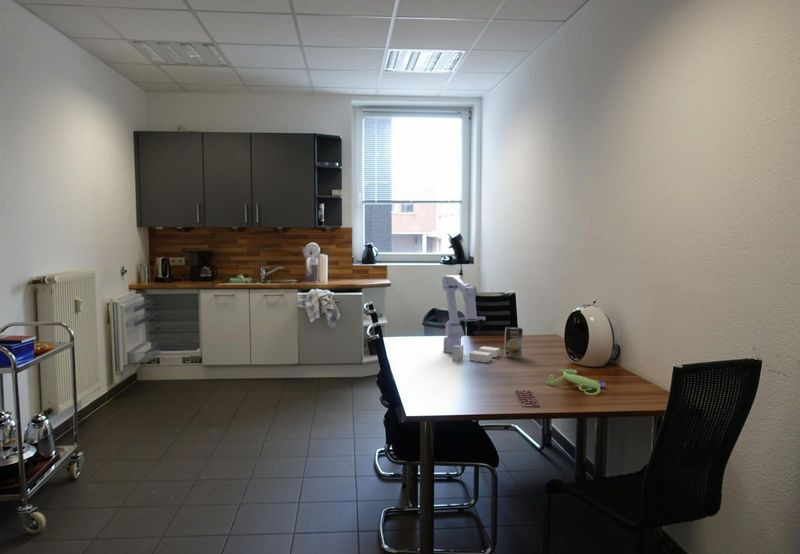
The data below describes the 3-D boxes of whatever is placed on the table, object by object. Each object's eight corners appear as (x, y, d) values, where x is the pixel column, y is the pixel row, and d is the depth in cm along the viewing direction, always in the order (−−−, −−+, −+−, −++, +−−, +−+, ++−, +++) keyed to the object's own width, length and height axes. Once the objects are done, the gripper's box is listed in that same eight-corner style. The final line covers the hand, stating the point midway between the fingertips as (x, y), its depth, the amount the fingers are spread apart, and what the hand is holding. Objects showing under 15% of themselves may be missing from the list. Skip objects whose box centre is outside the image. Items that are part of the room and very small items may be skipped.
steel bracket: (452, 361, 294) (452, 346, 293) (456, 359, 298) (456, 344, 298) (459, 362, 292) (459, 347, 291) (463, 360, 296) (463, 345, 296)
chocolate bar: (521, 408, 220) (521, 403, 220) (515, 393, 239) (515, 389, 238) (540, 408, 219) (540, 403, 219) (531, 394, 238) (532, 389, 238)
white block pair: (469, 360, 296) (469, 352, 296) (483, 353, 313) (483, 346, 313) (487, 362, 291) (487, 355, 291) (499, 355, 309) (500, 348, 308)
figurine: (563, 377, 266) (563, 365, 266) (615, 389, 246) (616, 377, 245) (540, 383, 254) (540, 371, 254) (593, 397, 234) (593, 384, 233)
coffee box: (504, 357, 303) (505, 328, 302) (503, 355, 310) (504, 326, 308) (521, 358, 302) (522, 329, 301) (520, 355, 309) (521, 327, 307)
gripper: (457, 309, 290) (458, 335, 288) (484, 307, 289) (486, 333, 287) (456, 310, 297) (458, 335, 295) (484, 308, 296) (486, 334, 294)
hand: (472, 334), depth 291 cm, fingers open, 7 cm apart
